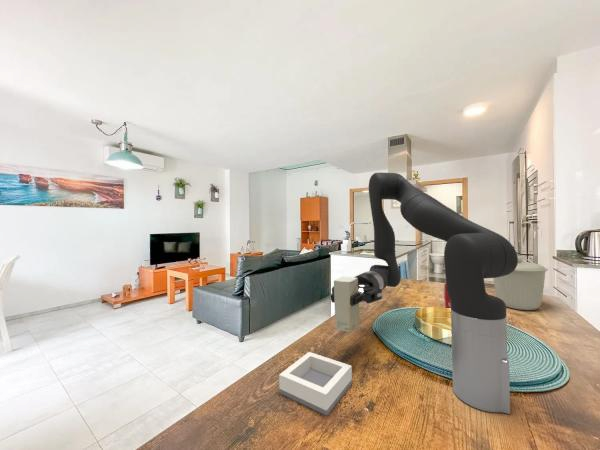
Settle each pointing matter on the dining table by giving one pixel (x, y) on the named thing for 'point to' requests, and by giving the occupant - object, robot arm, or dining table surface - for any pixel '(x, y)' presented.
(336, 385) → the socket block
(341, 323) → the skincare box
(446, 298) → the soda can
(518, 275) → the canister
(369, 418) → the dining table surface
